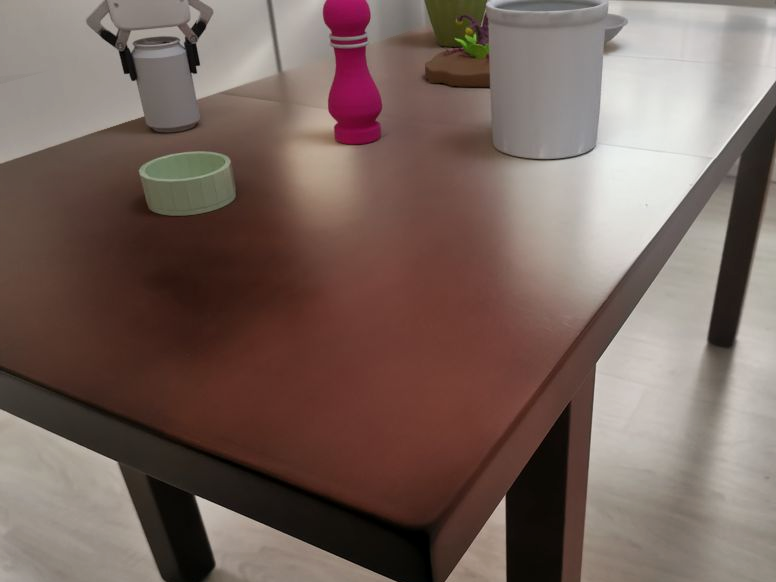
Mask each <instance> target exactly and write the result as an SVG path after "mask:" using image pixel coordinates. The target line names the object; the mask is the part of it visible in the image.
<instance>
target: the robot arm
mask: <svg viewBox="0 0 776 582" xmlns="http://www.w3.org/2000/svg"><path fill="white" fill-rule="evenodd" d="M190 6H191V7H192V8H193V9H195V10H196V11H198V12H199V16H198V18H197V20H195V22H194V24H193V25H192V26H191V27H190V26H189V25H188V23H189V22H190V21H191V10H190ZM107 15H109V18H110V20H111V23H113V25H114V27H115V28H116V29H117V32H116V34H114V33H113V32H111V31H110V30H109V29H107V28H106V27H105V26H104V25H103V24H102V23H101V21H102V20H103V19H104V18H105V17H106V16H107ZM213 15H214V9H213V8H212V7H211V6H209V5H208V4H206V3H204V2H202V0H102V1H101V2H100V4H98V6H97V7H96V8H95V9H94V10H93V11H92V12H91V13H90V14H89V15H88V16H87V17H86V18H85V22H86V25H87V26H88V27H89V28H90V29H91V30H93V31H94V32H95V33H96V34H97V35H98V36H99V37H100V38H101V39H102V40H103V41H105V42H106V43H108V44H109V45H110V46H112V47H114V49H116V50H117V51H118V55H119V59H120V64H121V67H122V73H123V74H124V75H129V78H130V80H131V82H136V80H137V77H136V73H135V69H134V64H133V60H132V56H131V52H132V51H131V49H130V48H129V47H128V41H129V38H130V35H131V32H132V31H133V32H134V31H142V30H143V31H144V30H153V29H164V28H172V27H177V28H178V29H179V30H180V32H181V33H182V34H183V35H184V41H183V47H184V48H185V49H186V50H187V54H188V59H189V64H190V69H191V74H192V75H197V74H198V69H197V67H200V66H201V63H200V62H201V61H200V56H199V51H198V46H197V43H198V41H199V39H200V38H201V36H202V34H203V33H204V32H205V31H206V29H207V26H208V24H209V22H210V20H211V19H212V16H213Z"/></svg>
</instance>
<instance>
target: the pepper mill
mask: <svg viewBox="0 0 776 582" xmlns="http://www.w3.org/2000/svg"><path fill="white" fill-rule="evenodd" d="M371 15H372V13H371V9H370V5H369V3H368V2H367V0H325V2H324V4H323V7H322V18H323V22H324V24H325V25H326V27H327V28H328V29H329V30H330V32H331V33H329V34H328V38H329V39H330V42H329V46H330V47H332V48H333V53H334V59H335V70H334V76H333V79H332V83H331V86H330V88H329V92H328V96H327V97H328V98H327V111H328V113H329V115H330V116H331V117H332V118H333V119H334V120H335V122H336V123H335V124H334V126H333V132H334V139H335V140H336V142H337V143H341V144H344V145H356V146H357V145H366V144H371V143H374V142H376V141H378V140H380V138H381V136H382V133H381V124H380V122H379V121H378V120H377V118H379V116H380V114H381V113H382V110H383V100H382V96H381V93H380V91H379V89H378V86H377V84H376V83H375V81H374V79H373V76H372V75H371V73H370V70H369V67H368V61H367V46H368V45H369V44H370V40H369V38H368V37H369V33H368V32H367V31H366V29H367V28H368V26H369V24H370V22H371V18H372V17H371Z"/></svg>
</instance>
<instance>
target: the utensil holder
mask: <svg viewBox="0 0 776 582" xmlns="http://www.w3.org/2000/svg"><path fill="white" fill-rule="evenodd" d="M485 12H486V15H487V18H488V22H489V25H488V28H489V62H490V87H489V92H490V93H489V94H490V115H491V117H490V119H491V133H492V144H493V147H494V148H495V149H496V150H497V151H499V152H500V153H504V154H506V155H510V156H513V157H518V158H524V159H535V160H552V159H554V160H555V159H564V158H571V157H576V156H579V155H583V154H585V153H588V152H590V151H591V150H592V149H594V148H595V146H596V145H597V142H598V132H599V122H600V114H601V113H600V111H601V99H602V98H601V97H602V83H603V81H602V80H603V67H604V66H603V65H604V54H605V53H604V51H605V43H604V36H605V17H606V15H607V14H609V13H608V12H609V0H488V1H487V3H486V9H485Z"/></svg>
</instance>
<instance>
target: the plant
mask: <svg viewBox="0 0 776 582" xmlns="http://www.w3.org/2000/svg"><path fill="white" fill-rule="evenodd" d="M463 17H465V18H467V19H469V20H470V21H471V22H472V25H470V26H468V27H467V28H466V31H465V32H466V35H465V38H466V39H467V42H468V44H469V45H468V44H467V43H466V42H465V41H463V40H461V39H456V38H455V40H456V41H457V42H459V43H460V44H461V45H462V47H458V48H456V47H452V49H451V50H450V49H445V51H441V52H439V53H437V54H436V55H434V56H433V57H432V58H431V59H430V60H428V61H426V62H425V63H424V74H425V79H426V80H427V79H428V80H427V81H429V83H430V84H440V83H444V84H443V85H447V84H448V85H447V86H451V87H453V86H457V87H456V88H490V62H489V20H488V18H487V15H486V11H485V13H484V17H483V20H482V24H481V26H480V25H479V24H478V22H477V20H475V19H474V18H473V17H471V16H470V15H468V14H463V15H461V16H459V17H458V18H457V19H456V25H458V26H461V25H462V24H463ZM474 27H475V32H476V33H475V34H474V36H473V38H472V37H470V35H472V34H473V31H474Z"/></svg>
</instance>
